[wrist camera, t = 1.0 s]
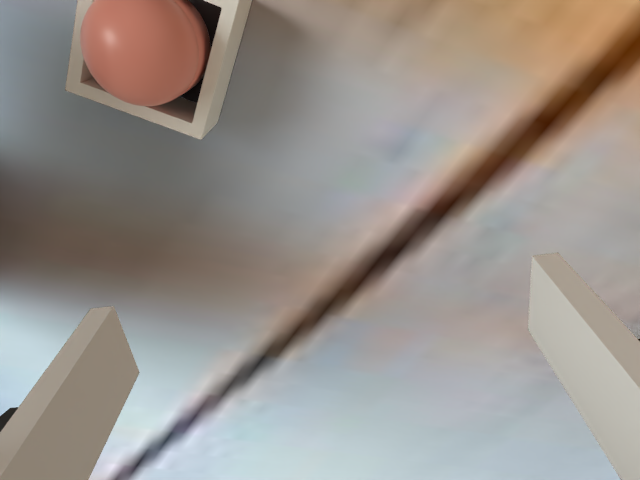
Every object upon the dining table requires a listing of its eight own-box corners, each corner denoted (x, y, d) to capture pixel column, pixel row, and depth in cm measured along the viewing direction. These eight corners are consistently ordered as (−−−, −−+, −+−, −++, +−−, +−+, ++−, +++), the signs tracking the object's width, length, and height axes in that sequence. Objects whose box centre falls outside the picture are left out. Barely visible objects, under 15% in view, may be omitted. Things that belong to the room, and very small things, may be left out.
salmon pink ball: (100, 74, 32) (49, 90, 26) (119, -32, 29) (66, -39, 24) (197, 110, 33) (168, 133, 27) (223, 10, 30) (196, 13, 24)
